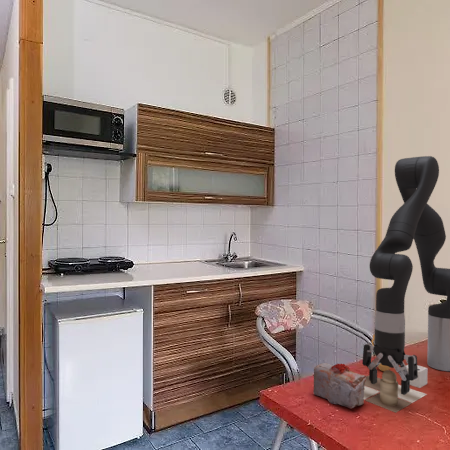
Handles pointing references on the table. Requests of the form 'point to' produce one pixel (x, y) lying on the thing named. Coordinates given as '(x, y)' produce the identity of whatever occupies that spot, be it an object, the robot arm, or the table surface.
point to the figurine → (380, 366)
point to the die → (420, 377)
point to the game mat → (410, 396)
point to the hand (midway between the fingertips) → (388, 388)
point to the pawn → (389, 388)
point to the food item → (339, 385)
